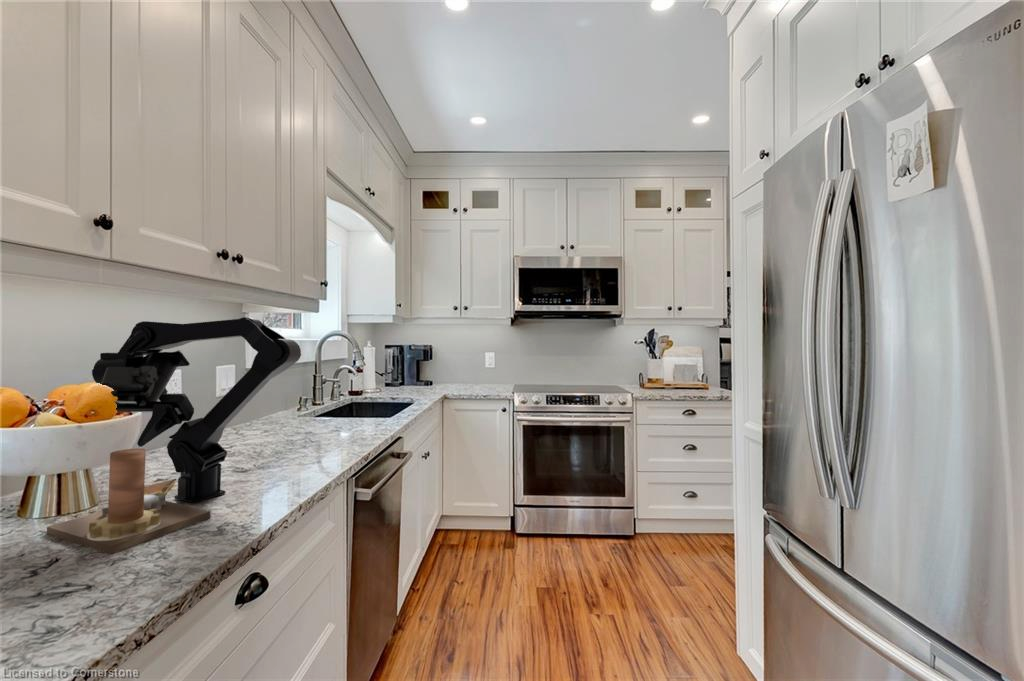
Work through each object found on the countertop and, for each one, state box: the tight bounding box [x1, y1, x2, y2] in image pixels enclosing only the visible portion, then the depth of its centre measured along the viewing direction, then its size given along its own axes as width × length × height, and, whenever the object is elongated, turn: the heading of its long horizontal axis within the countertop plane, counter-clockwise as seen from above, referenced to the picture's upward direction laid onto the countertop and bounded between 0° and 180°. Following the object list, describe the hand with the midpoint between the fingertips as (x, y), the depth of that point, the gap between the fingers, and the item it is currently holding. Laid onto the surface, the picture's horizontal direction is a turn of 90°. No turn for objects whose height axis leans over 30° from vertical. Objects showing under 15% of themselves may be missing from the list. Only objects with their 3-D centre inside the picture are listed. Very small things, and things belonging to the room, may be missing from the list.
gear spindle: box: [89, 448, 160, 539], centre depth 71 cm, size 9×9×12 cm
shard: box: [144, 477, 177, 496], centre depth 91 cm, size 11×8×2 cm
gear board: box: [46, 493, 211, 555], centre depth 75 cm, size 15×17×4 cm
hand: (109, 446), depth 76 cm, fingers open, 9 cm apart
